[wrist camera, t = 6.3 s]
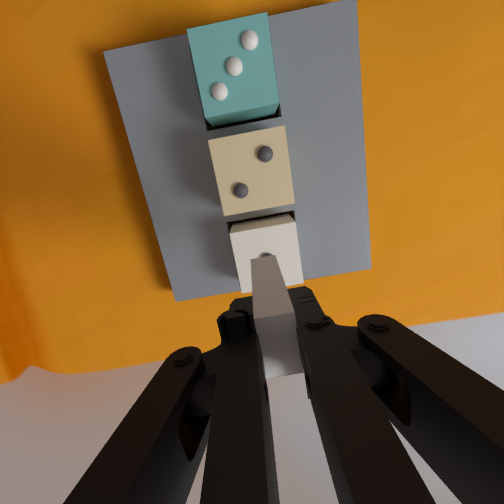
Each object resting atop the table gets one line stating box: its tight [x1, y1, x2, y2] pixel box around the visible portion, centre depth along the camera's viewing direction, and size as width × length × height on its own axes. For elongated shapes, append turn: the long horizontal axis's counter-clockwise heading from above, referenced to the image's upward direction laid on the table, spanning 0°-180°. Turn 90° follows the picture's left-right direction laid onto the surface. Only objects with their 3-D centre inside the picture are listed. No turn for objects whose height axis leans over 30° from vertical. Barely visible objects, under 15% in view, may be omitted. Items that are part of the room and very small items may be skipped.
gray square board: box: [103, 0, 371, 302], centre depth 23 cm, size 18×20×2 cm
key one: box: [229, 214, 304, 293], centre depth 23 cm, size 5×5×4 cm
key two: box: [208, 125, 295, 216], centre depth 20 cm, size 5×5×4 cm
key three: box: [187, 12, 279, 127], centre depth 19 cm, size 5×5×4 cm
